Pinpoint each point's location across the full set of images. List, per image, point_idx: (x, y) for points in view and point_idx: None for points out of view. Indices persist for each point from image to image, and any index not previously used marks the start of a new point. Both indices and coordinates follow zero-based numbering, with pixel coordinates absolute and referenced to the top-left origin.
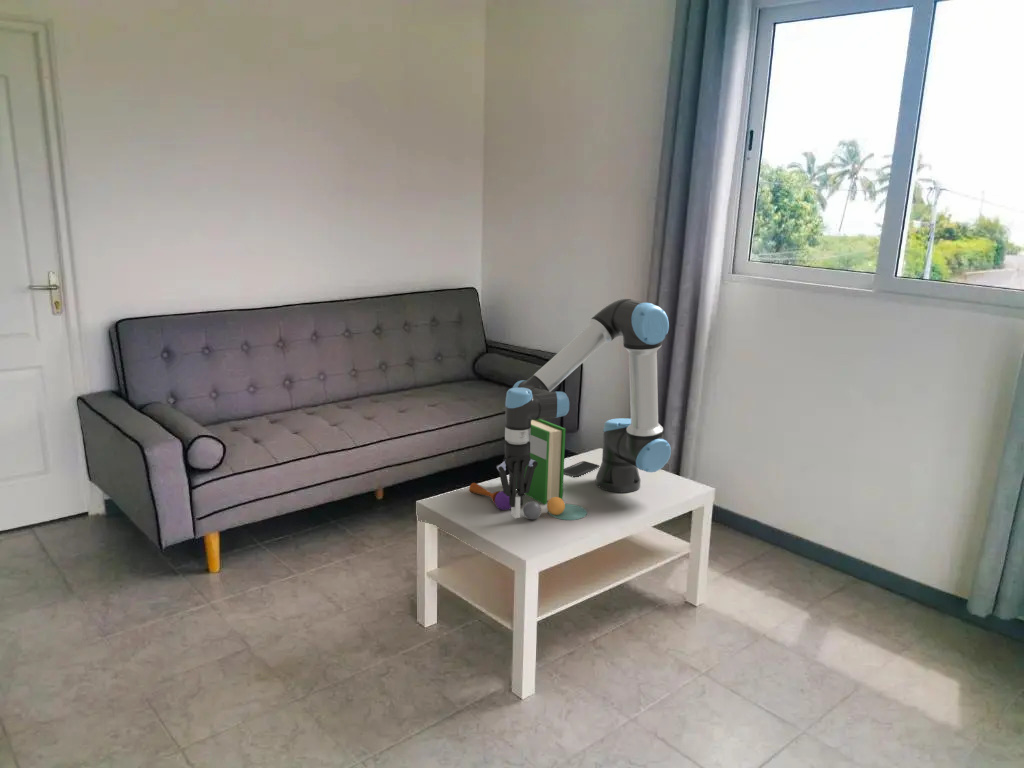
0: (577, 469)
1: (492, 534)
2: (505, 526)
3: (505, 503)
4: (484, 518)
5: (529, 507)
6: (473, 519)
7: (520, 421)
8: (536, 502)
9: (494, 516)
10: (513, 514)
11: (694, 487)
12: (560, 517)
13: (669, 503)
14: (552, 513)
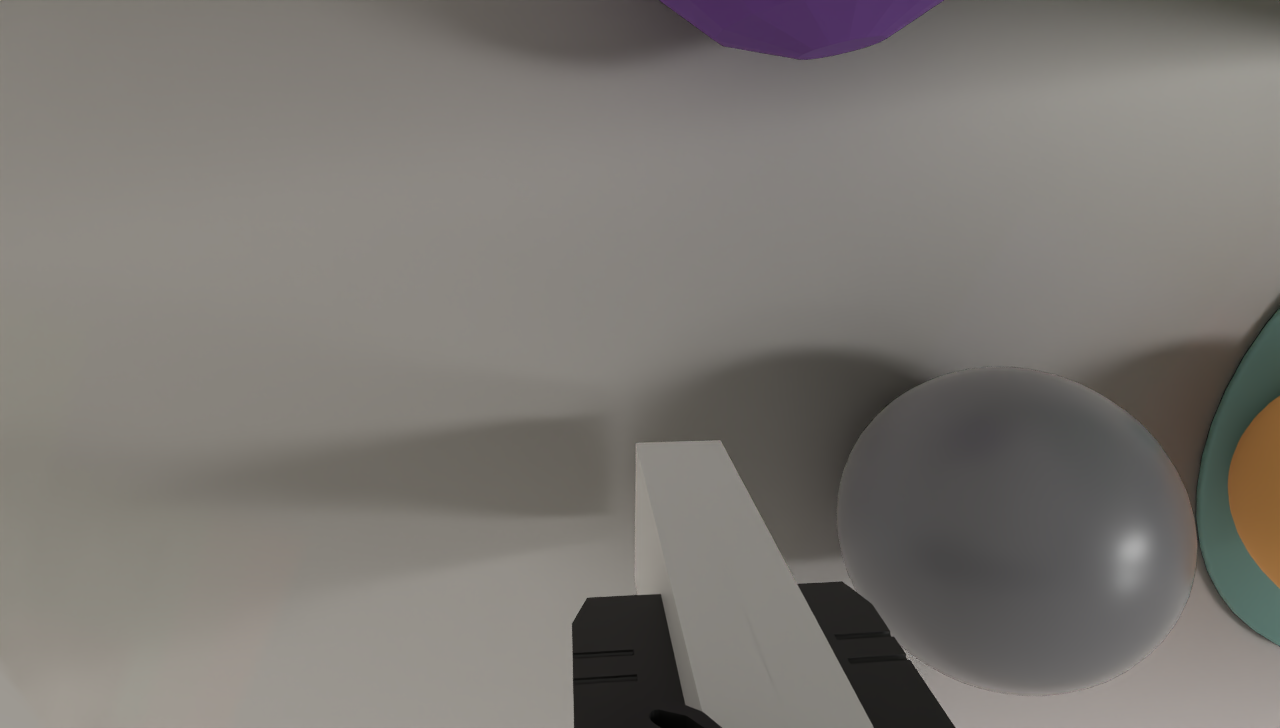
0: None
1: (185, 702)
2: (458, 547)
3: (728, 40)
4: (231, 155)
5: (946, 662)
6: (7, 110)
7: None
8: (1173, 619)
9: (437, 149)
10: (638, 532)
11: None
12: (1246, 571)
13: None
14: (1232, 514)
